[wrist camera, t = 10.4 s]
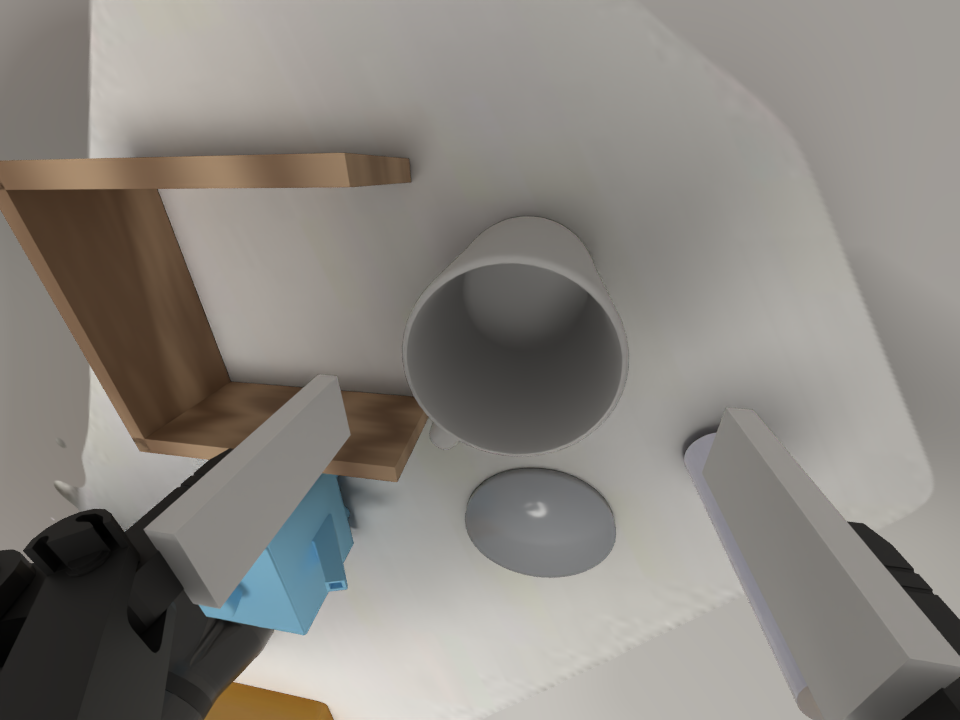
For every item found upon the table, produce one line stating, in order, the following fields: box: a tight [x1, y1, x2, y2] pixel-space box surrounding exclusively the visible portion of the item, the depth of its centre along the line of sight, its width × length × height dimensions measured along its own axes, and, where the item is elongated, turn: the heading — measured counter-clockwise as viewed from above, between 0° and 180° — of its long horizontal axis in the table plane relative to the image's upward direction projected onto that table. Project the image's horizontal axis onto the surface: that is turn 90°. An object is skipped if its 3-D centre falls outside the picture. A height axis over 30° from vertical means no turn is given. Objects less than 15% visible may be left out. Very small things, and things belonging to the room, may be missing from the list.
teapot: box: [199, 473, 354, 635], centre depth 30 cm, size 16×18×11 cm
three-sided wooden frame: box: [0, 153, 428, 482], centre depth 23 cm, size 18×17×8 cm
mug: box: [402, 216, 629, 456], centre depth 19 cm, size 12×8×11 cm
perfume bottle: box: [684, 433, 824, 720], centre depth 17 cm, size 6×6×20 cm
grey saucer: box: [465, 468, 616, 578], centre depth 32 cm, size 13×13×1 cm
